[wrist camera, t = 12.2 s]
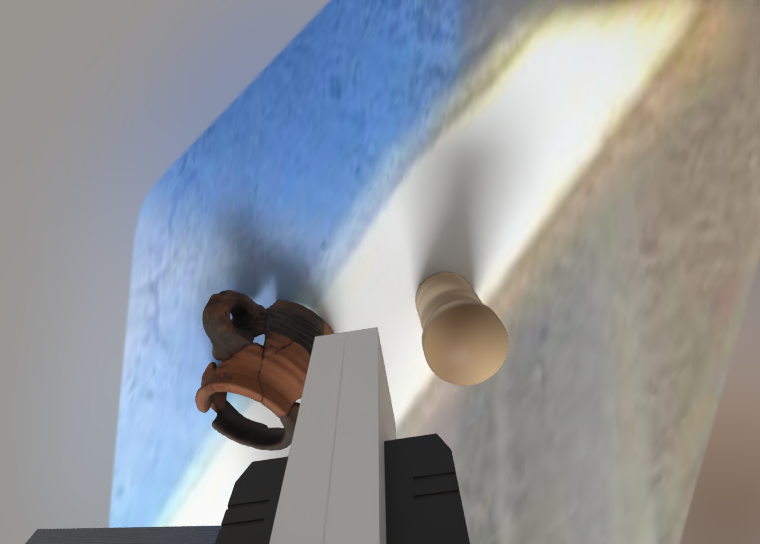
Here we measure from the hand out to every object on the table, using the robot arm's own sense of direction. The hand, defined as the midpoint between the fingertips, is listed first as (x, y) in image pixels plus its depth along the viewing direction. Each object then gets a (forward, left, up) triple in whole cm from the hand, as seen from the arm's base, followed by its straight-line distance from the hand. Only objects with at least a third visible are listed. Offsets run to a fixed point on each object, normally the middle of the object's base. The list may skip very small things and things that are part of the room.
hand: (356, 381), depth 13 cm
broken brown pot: (+7, +10, -28) cm, 30 cm away
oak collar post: (-6, +6, -27) cm, 29 cm away
